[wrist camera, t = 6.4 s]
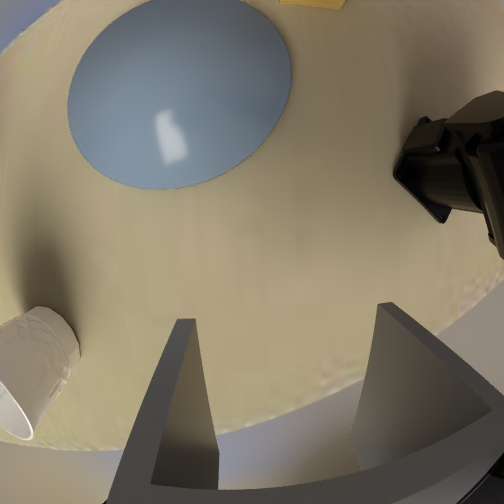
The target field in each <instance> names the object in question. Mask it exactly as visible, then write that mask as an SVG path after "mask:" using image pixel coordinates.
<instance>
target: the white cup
mask: <svg viewBox="0 0 504 504" xmlns="http://www.w3.org/2000/svg"><path fill="white" fill-rule="evenodd" d="M79 359H80V350H79V343H78V341H77V339H76V337H75V334H74V332H73V330H72V328H71V327H70V326H69V325H68V324H67V322H66V321H65V320H64V319H63V317H62V316H61V315H59V314H58V313H56V312H55V311H53V310H52V309H50V308H48V307H41V306H36V307H35V308H33V309H31V310H30V311H28V312H26V313H25V314H23V315H21V316H19V317H15V318H13V319H12V320H10V321H8V322H6V323H4V324H3V325H1V326H0V426H1V427H2V428H4V429H5V430H6V431H8V432H9V433H11V434H12V435H14V436H16V437H18V438H20V439H23V440H31V439H32V438H33V437H34V435H35V433H36V431H37V430H38V428H39V426H40V425H41V423H42V421H43V420H44V418H45V416H46V415H47V413H48V412H49V410H50V408H51V407H52V405H53V404H54V402H55V400H56V398H57V397H58V395H59V394H60V392H61V390H62V388H63V387H64V386H65V384H66V382H67V381H68V377H69V376H70V374H71V373H72V372H73V370H74V369H75V367H76V365H77V363H78V361H79Z"/></svg>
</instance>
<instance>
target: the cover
mask: <svg viewBox="0 0 504 504" xmlns="http://www.w3.org/2000/svg"><path fill="white" fill-rule="evenodd" d="M349 441H350V443H351V445H352V448H353V450H354V452H355V454H356V457H357V459H358V461H359V464H360V466H361V469H362V471H359V472H356V473H352V474H349V475H345V476H340V477H336V478H331V479H327V480H322V481H316V482H311V483H305V484H298V485H292V486H283V487H275V488H264V489H245V490H218V480H219V449H218V445H217V441H216V436H215V431H214V426H213V422H212V417H211V412H210V406H209V401H208V396H207V390H206V385H205V379H204V373H203V367H202V361H201V354H200V348H199V341H198V334H197V327H196V319H177V321H176V323H175V325H174V328H173V330H172V332H171V334H170V337H169V339H168V341H167V344H166V346H165V348H164V351H163V353H162V355H161V358H160V360H159V363H158V365H157V367H156V370H155V372H154V375H153V377H152V380H151V382H150V384H149V387H148V389H147V392H146V394H145V397H144V399H143V402H142V404H141V407H140V410H139V412H138V415H137V417H136V420H135V423H134V425H133V428H132V430H131V433H130V436H129V438H128V441H127V444H126V447H125V449H124V452H123V455H122V458H121V461H120V463H119V466H118V469H117V472H116V475H115V478H114V481H113V484H112V487H111V490H110V493H109V496H108V499H107V502H106V504H456V503H457V502H458V501H459V500H460V499H461V498H462V497H463V496H464V495H465V494H466V493H468V492H469V491H470V490H471V489H472V488H473V487H474V485H475V484H476V483H477V482H478V481H479V480H480V479H481V478H482V477H483V476H484V475H485V474H486V473H487V471H488V470H489V469H490V468H491V467H492V466H493V465H494V463H495V462H496V461H497V460H498V459H499V457H500V456H501V455H502V454H503V452H504V396H503V395H502V394H501V393H500V392H499V391H498V390H497V389H496V388H495V387H494V386H493V385H491V384H490V383H489V382H488V381H487V380H486V379H485V378H484V377H482V376H481V375H480V374H479V373H478V372H477V371H476V370H474V369H473V368H472V367H471V366H470V365H469V364H468V363H466V362H465V361H464V360H463V359H462V358H460V357H459V356H458V355H457V354H456V353H455V352H453V351H452V350H451V349H450V348H449V347H447V346H446V345H445V344H444V343H443V342H441V341H440V340H439V339H438V338H436V337H435V336H434V335H433V334H432V333H430V332H429V331H428V330H427V329H425V328H424V327H423V326H422V325H420V324H419V323H418V322H417V321H415V320H414V319H413V318H412V317H410V316H409V315H408V314H407V313H405V312H404V311H403V310H401V309H400V308H399V307H398V306H396V305H395V304H394V303H392V302H388V303H381V304H378V306H377V314H376V321H375V327H374V334H373V340H372V345H371V351H370V356H369V361H368V366H367V371H366V376H365V380H364V384H363V389H362V393H361V397H360V401H359V405H358V409H357V412H356V416H355V419H354V423H353V426H352V429H351V433H350V436H349Z"/></svg>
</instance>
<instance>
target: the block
mask: <svg viewBox="0 0 504 504" xmlns="http://www.w3.org/2000/svg"><path fill="white" fill-rule="evenodd" d="M345 1H346V0H279V2H280V3H284V4H297V5H307V6H315V7H323V8H329V9H335V10H340V9H341V7H342V6H343V4H344V2H345Z"/></svg>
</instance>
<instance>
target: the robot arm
mask: <svg viewBox="0 0 504 504" xmlns="http://www.w3.org/2000/svg"><path fill="white" fill-rule="evenodd" d="M425 121H426V123H425ZM399 172H400V173H401V177H399V175H398V173H399ZM393 177H394V179H395V180H396V181H397V182H398V183H399V184H401V185H402V186H403V187H404V188H405V189H406V190H407V191H408V192H409V193H410V194H411V195H412V196H413V197H414V198H415V199H416V200H417V201H418V202H419V203H420V204H421V205H422V206H423V207H424V208H425V209H426V210H427V211H428V212H429V213H430V214H431V215H432V216H433V217H434V219H435V220H436V221H437V222H438V223H442V224H444V223H445V222H446V220H447V218H448V216H449V214H450V212H451V210H452V209H457V210H464V211H470V212H476V213H482V214H484V217H485V221H486V224H487V228H488V231H489V233H488V236H489V240H490V242H491V243H492V244H493V245H495V246H496V247H497V250H498V252H499V255H500V257H501V258H502V259H503V260H504V92H501V91H498V90H497V91H493V92H490V93H487V94H485V95H482V96H479V97H476V98H474V99H473V100H471V101H470V102H469V103H468V104H466V105H465V106H464V107H463V108H461V109H460V110H459V111H458V112H456V113H455V114H454V115H453V116H451V117H450V118H449V119H448V118H443V119H440V120H436V121H431V120H430V119H429V118H428V117H426V116H425V117H422V118H421V119H420V120H419V123H418V125H417V126H415V127H414V128H413V130H412V132H411V134H410V136H409V138H408V140H407V141H406V143H405V145H404V147H403V154H402V156H401V158H400V160H399V162H398V164H397V165H396V167H395V169H394V171H393ZM441 216H442V219H441ZM106 502H107V500H106V501H105V502H104V503H103V504H106ZM456 504H504V452H503V454H502V455H501V456H500V457H499V459H498V460H497V461H496V462H495V463H494V465H493V466H492V467H491V468H490V469H489V470H488V471H487V473H486V474H485V475H484V476H483V477H482V478H481V479H480V480H479V481H478V482H477V483H476V484H475V485H474V487H473V488H472V489H471V490H470V491H469V492H468V493H466V494H465V495H464V496H463V497H462V498H461V499H460V500H459V501H458V502H457V503H456Z"/></svg>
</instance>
